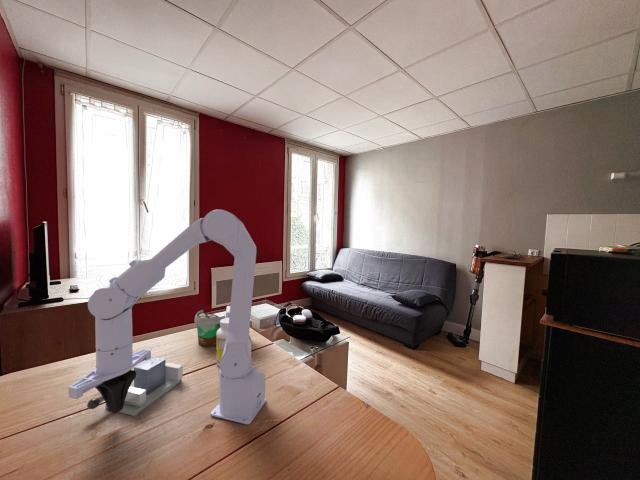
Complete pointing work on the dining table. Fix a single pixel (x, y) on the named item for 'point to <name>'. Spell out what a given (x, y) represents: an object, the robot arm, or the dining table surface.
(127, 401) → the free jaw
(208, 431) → the dining table surface
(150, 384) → the block
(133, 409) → the base
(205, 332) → the food container
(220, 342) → the supplement bottle
